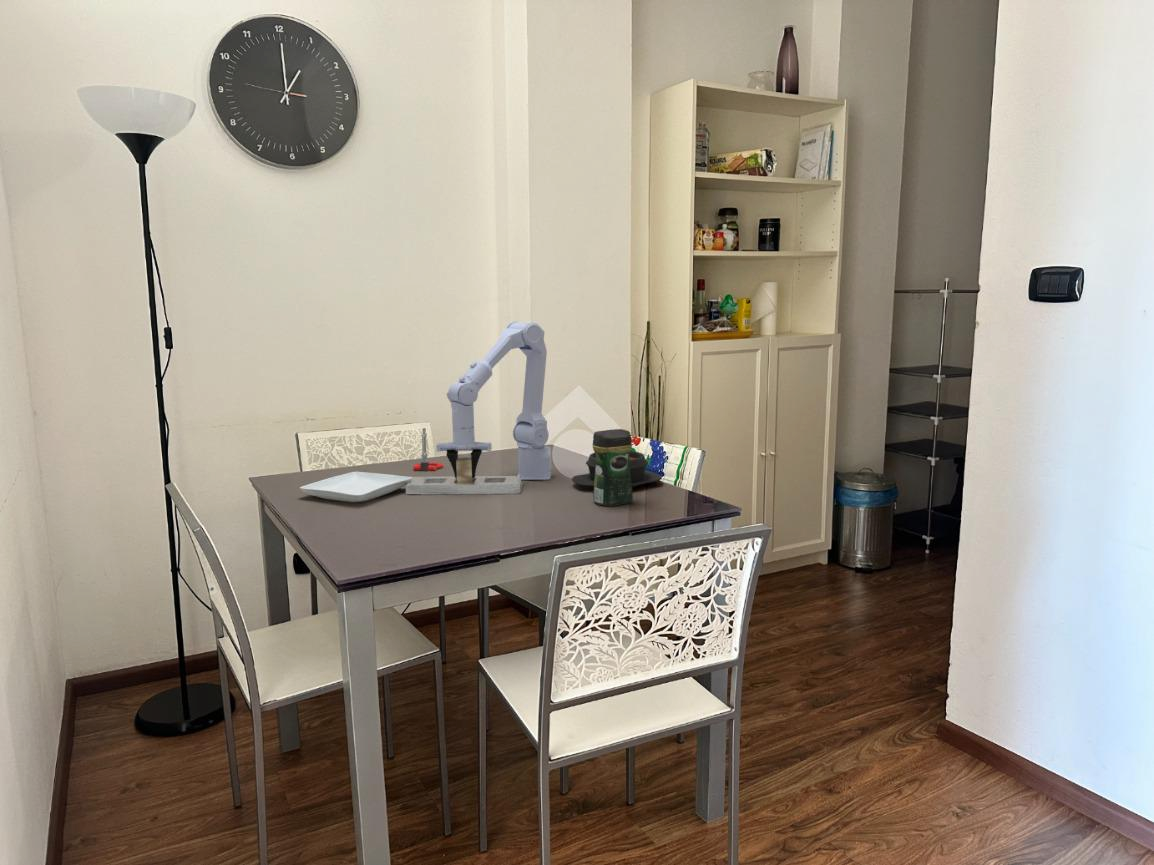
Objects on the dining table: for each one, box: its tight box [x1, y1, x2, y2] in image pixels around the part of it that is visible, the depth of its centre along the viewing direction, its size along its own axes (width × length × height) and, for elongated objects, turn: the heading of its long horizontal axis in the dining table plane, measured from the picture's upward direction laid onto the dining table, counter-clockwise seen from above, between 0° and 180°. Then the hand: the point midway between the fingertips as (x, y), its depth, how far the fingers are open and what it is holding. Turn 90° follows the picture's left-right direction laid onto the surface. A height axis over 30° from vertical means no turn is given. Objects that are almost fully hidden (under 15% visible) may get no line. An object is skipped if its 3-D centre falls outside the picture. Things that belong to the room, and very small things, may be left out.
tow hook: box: [413, 427, 444, 472], centre depth 248 cm, size 8×13×9 cm
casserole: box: [571, 450, 663, 489], centre depth 224 cm, size 25×19×8 cm
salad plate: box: [299, 471, 413, 503], centre depth 217 cm, size 21×21×3 cm
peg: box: [456, 456, 474, 483], centre depth 221 cm, size 4×4×8 cm
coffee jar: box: [592, 428, 634, 507], centre depth 205 cm, size 10×8×19 cm
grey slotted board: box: [405, 475, 523, 495], centre depth 221 cm, size 30×10×2 cm, turn 90°
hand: (465, 477), depth 221 cm, fingers closed on peg, 4 cm apart
